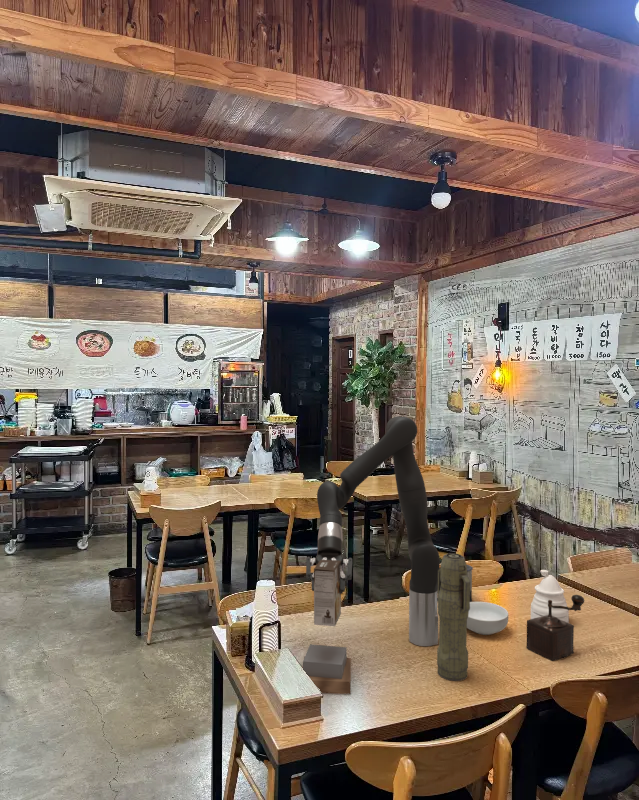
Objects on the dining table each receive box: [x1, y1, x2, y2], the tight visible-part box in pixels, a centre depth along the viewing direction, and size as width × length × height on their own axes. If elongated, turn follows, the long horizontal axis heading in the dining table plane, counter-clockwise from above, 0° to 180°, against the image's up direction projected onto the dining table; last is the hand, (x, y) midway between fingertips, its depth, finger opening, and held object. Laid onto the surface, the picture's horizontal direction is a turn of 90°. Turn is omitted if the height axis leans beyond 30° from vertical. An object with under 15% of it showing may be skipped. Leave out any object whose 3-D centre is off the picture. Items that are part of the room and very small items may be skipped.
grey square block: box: [302, 644, 348, 679], centre depth 167 cm, size 11×11×4 cm
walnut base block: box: [301, 655, 352, 695], centre depth 167 cm, size 14×14×4 cm
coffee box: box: [313, 560, 342, 627], centre depth 167 cm, size 9×6×16 cm
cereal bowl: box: [467, 601, 509, 636], centre depth 202 cm, size 17×17×7 cm
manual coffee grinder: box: [525, 594, 585, 662], centre depth 187 cm, size 16×11×18 cm
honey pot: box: [530, 569, 570, 623], centre depth 210 cm, size 13×13×18 cm
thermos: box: [436, 552, 470, 682], centre depth 171 cm, size 9×12×35 cm
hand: (328, 592), depth 167 cm, fingers closed on coffee box, 7 cm apart
